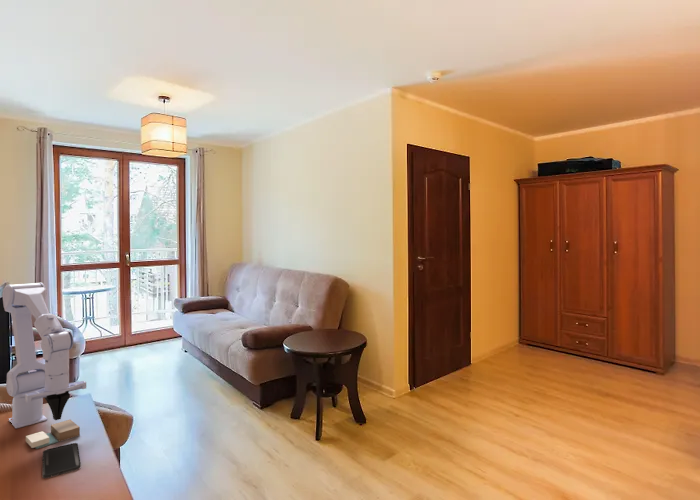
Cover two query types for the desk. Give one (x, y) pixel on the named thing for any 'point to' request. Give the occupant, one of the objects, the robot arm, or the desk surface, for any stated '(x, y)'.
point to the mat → (51, 441)
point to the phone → (60, 460)
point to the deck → (65, 430)
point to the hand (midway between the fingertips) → (57, 418)
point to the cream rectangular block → (37, 439)
